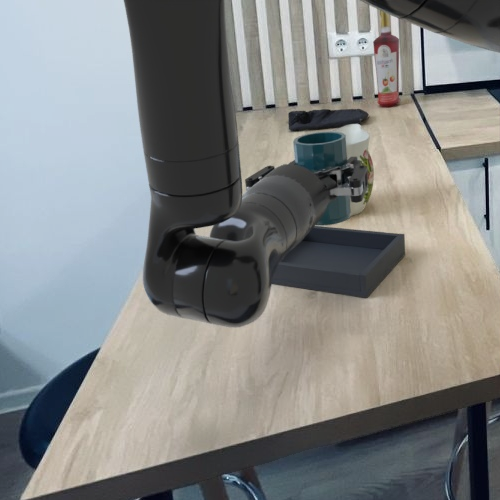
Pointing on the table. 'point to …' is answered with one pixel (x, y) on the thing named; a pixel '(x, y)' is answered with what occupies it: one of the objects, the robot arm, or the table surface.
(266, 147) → the table surface
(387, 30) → the liquor
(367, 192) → the pitcher
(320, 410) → the table surface
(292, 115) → the folded dark cloth
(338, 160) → the tumbler
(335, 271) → the tray
